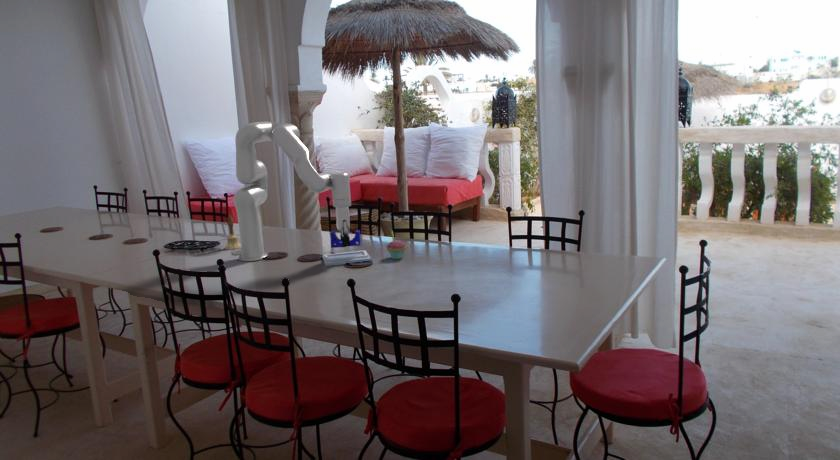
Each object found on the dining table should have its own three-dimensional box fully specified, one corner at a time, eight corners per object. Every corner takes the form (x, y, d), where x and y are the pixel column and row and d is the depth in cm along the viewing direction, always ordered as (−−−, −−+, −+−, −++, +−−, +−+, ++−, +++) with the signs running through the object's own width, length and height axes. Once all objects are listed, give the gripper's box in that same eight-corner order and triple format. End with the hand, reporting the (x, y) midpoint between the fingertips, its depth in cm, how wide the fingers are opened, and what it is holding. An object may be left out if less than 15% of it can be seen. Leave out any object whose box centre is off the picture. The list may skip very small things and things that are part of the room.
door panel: (325, 266, 264) (324, 260, 263) (322, 257, 279) (322, 252, 279) (371, 261, 268) (370, 256, 267) (365, 252, 283) (365, 247, 283)
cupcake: (383, 259, 270) (381, 231, 268) (393, 254, 278) (391, 227, 275) (401, 260, 266) (399, 232, 264) (411, 255, 274) (409, 228, 271)
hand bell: (239, 249, 302) (236, 216, 299) (222, 250, 303) (218, 216, 299) (244, 245, 310) (241, 212, 307) (227, 246, 311) (224, 213, 307)
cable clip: (331, 247, 270) (330, 233, 269) (332, 245, 274) (331, 231, 273) (359, 246, 270) (358, 232, 268) (360, 243, 274) (359, 230, 273)
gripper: (331, 200, 276) (334, 241, 279) (334, 206, 259) (338, 250, 263) (348, 198, 277) (351, 239, 281) (353, 204, 261) (356, 248, 265)
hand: (345, 244), depth 272 cm, fingers closed on cable clip, 5 cm apart
